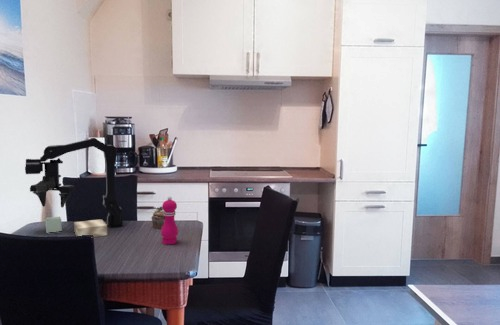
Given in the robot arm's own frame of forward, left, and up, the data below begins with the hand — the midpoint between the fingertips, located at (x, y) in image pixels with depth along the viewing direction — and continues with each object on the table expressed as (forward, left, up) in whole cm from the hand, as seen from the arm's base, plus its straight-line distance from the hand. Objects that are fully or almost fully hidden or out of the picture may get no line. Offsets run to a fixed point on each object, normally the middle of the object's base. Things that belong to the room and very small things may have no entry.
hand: (53, 206), depth 173 cm
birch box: (-14, +12, -12) cm, 22 cm away
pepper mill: (-41, +41, -12) cm, 59 cm away
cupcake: (-46, +16, -12) cm, 50 cm away
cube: (0, 0, -12) cm, 12 cm away
